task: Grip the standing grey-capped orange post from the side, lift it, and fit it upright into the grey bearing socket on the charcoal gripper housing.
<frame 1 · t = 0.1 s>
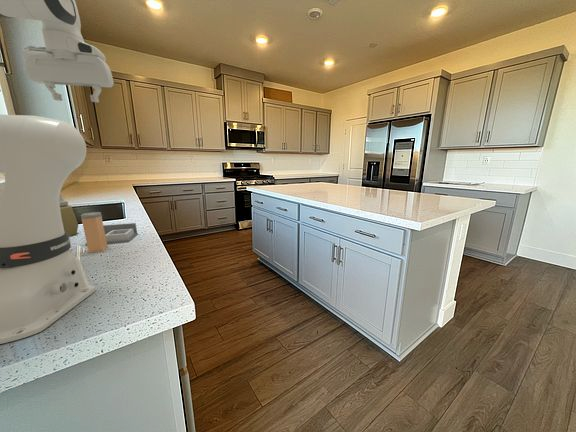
hand: (76, 101, 72), 48 cm above the table, tool pointing down, fingers open, 8 cm apart
grey-capped orange post: (98, 249, 84), on the table
squeeze bottle: (67, 235, 101), on the table
housing: (120, 239, 95), on the table
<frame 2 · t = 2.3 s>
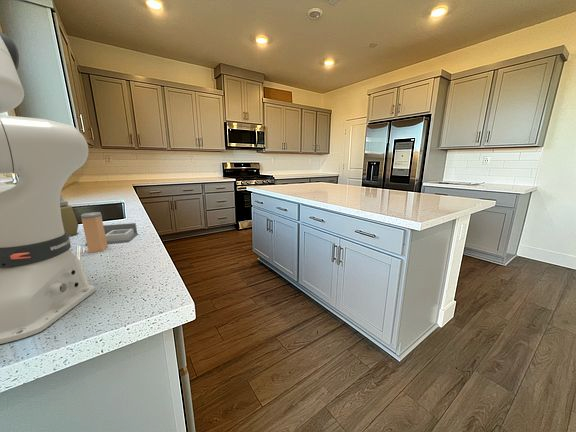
hand: (34, 194, 75), 20 cm above the table, tool horizontal, fingers open, 8 cm apart
nothing on the table moved.
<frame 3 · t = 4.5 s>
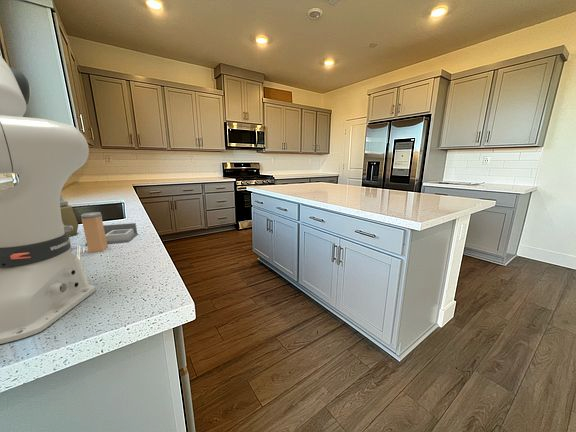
hand: (63, 232, 80), 7 cm above the table, tool horizontal, fingers open, 8 cm apart
nothing on the table moved.
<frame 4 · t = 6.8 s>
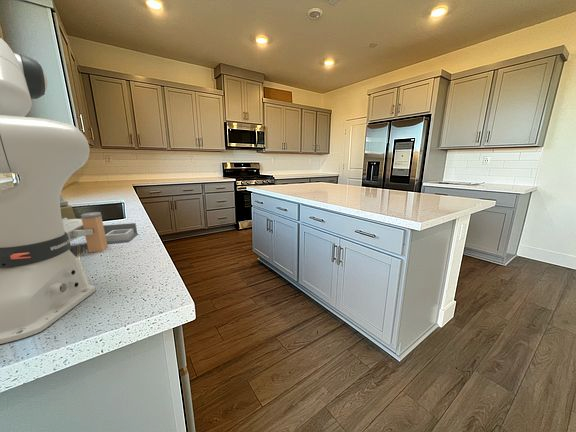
hand: (97, 229, 82), 7 cm above the table, tool horizontal, fingers closed on grey-capped orange post, 4 cm apart
grey-capped orange post: (98, 249, 84), on the table, touching gripper
everything else where it was.
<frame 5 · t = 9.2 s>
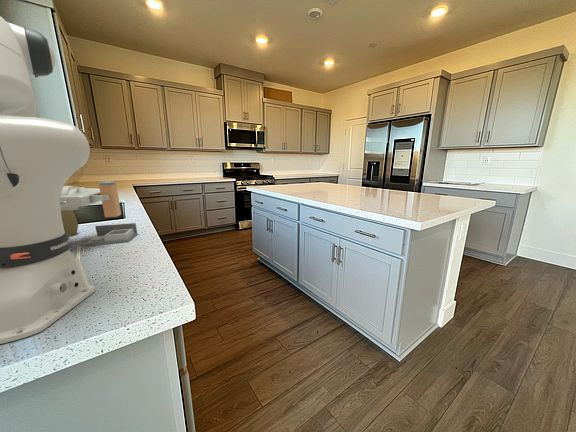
hand: (112, 196, 90), 17 cm above the table, tool horizontal, fingers closed on grey-capped orange post, 4 cm apart
grey-capped orange post: (113, 215, 91), point 10 cm above the table, touching gripper
everything else where it was.
when the fingers open (9 cm above the table, at t = 11.5 s): grey-capped orange post stays where it is, resting on housing.
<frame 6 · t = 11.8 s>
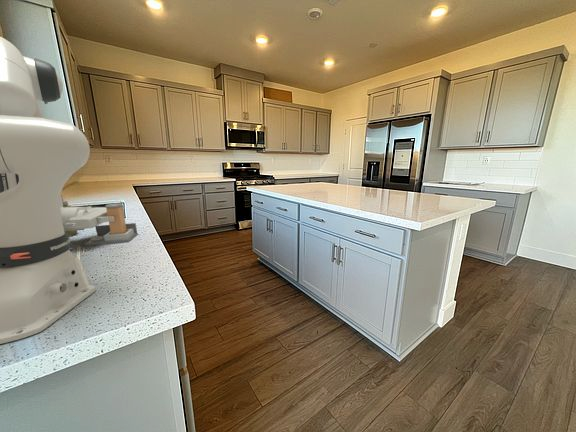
hand: (119, 216, 93), 9 cm above the table, tool horizontal, fingers open, 7 cm apart
grey-capped orange post: (120, 236, 94), point 1 cm above the table, touching housing
everything else where it was.
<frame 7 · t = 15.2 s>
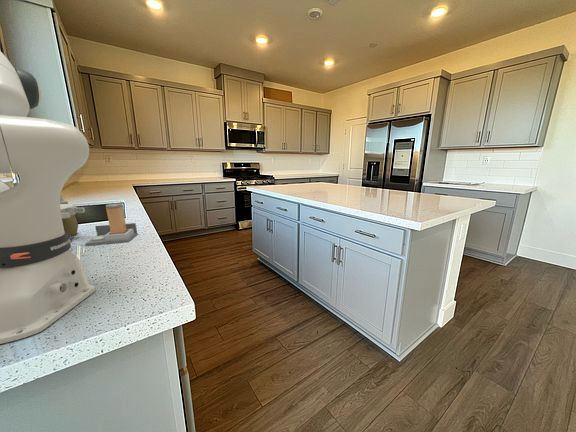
hand: (77, 212, 89), 12 cm above the table, tool horizontal, fingers open, 8 cm apart
nothing on the table moved.
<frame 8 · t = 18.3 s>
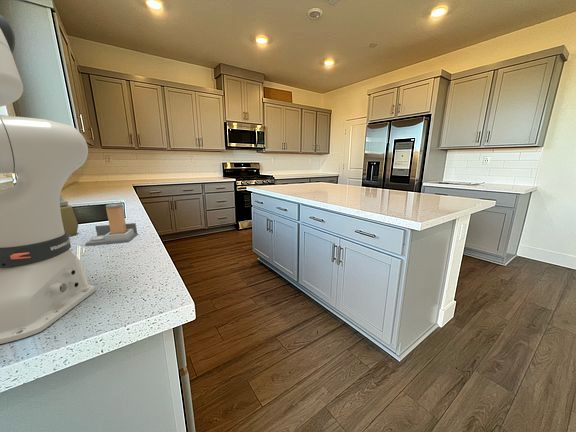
hand: (19, 143, 76), 36 cm above the table, tool horizontal, fingers open, 8 cm apart
nothing on the table moved.
at the end: grey-capped orange post 0.1 cm off-centre on the housing, point 1.0 cm above the housing's base; grey-capped orange post tilted 0°; the gripper is holding nothing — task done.
